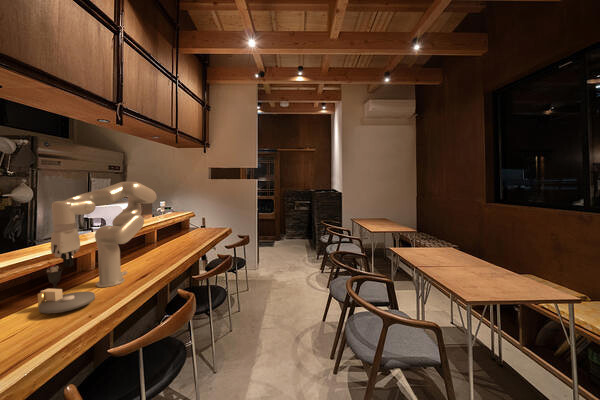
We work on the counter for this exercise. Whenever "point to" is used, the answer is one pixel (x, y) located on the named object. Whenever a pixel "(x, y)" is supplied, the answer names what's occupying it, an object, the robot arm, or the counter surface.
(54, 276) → the sundae
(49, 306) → the disc
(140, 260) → the counter surface
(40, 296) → the brown rounded oblong piece
